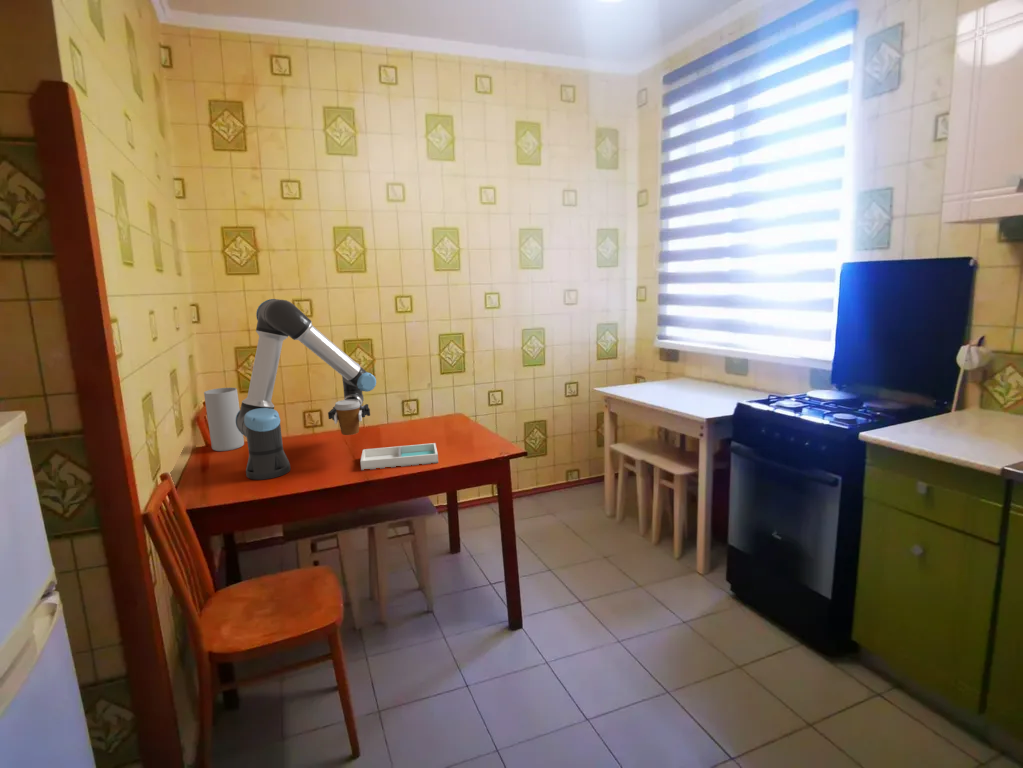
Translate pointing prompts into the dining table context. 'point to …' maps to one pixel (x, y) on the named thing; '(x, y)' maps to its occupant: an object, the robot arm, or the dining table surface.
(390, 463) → the divided tray
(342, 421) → the disposable coffee cup
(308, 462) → the dining table surface
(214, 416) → the cylinder vase
